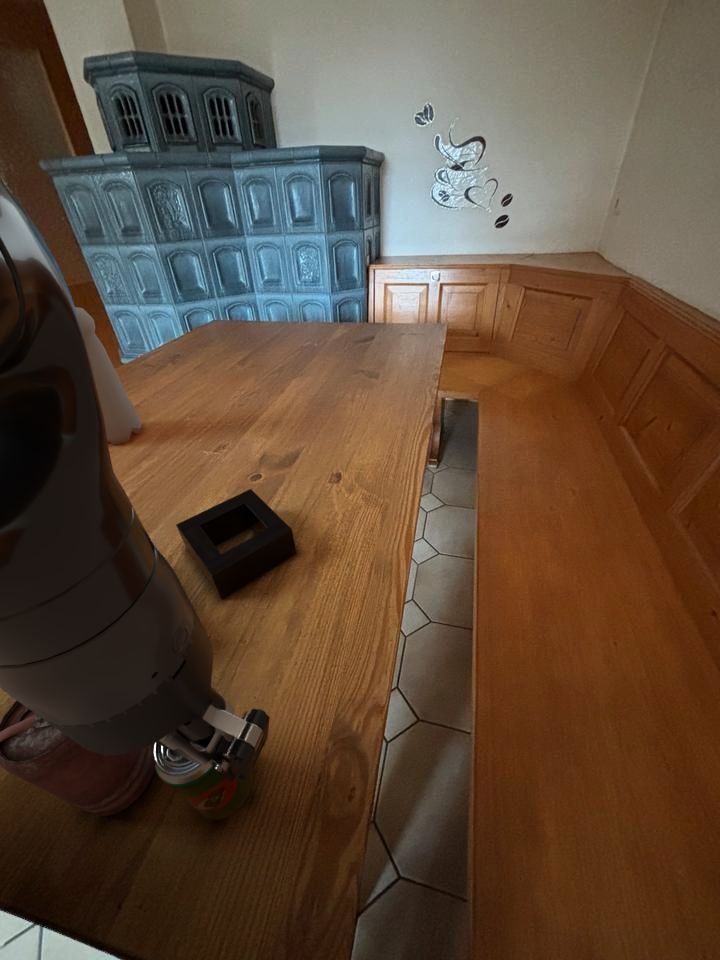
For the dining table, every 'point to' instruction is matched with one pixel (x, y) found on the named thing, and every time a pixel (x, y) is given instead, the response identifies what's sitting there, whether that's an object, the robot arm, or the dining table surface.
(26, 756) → the can
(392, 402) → the dining table surface
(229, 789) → the soda can
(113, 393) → the bottle
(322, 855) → the dining table surface
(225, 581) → the holder
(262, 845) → the dining table surface
